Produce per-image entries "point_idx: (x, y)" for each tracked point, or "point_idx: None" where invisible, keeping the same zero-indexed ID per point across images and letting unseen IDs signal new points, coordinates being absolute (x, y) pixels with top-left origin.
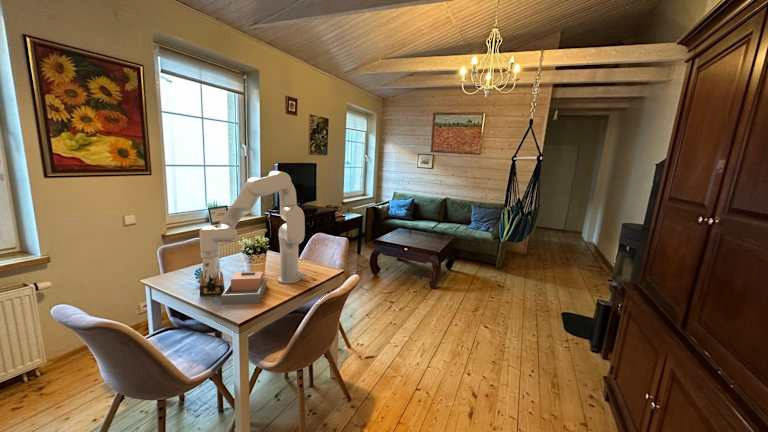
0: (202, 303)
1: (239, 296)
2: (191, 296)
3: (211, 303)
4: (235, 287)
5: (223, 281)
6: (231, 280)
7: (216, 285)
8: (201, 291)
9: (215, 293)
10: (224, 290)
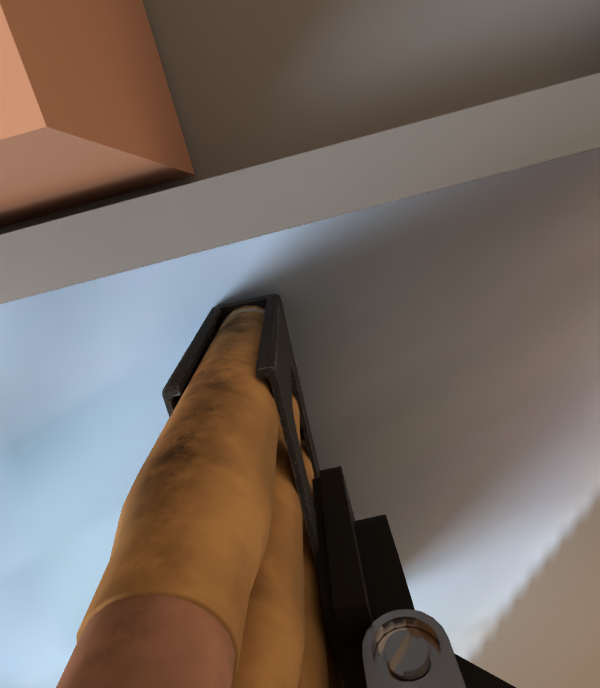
0: (587, 450)
1: None
2: None
3: (593, 324)
4: (133, 41)
5: (201, 419)
6: (65, 105)
7: (304, 518)
8: None
9: (309, 436)
10: (543, 159)
